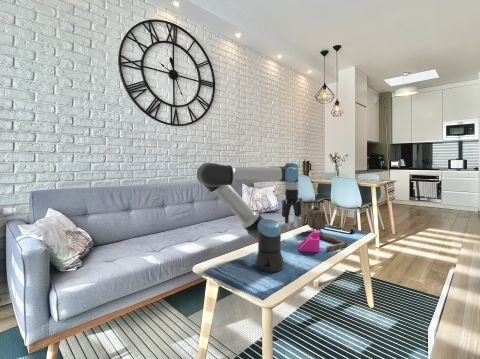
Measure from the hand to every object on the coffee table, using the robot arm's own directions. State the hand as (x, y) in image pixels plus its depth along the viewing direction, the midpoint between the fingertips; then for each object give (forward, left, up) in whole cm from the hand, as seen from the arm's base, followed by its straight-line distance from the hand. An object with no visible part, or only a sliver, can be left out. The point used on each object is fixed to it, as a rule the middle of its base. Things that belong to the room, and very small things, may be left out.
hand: (291, 227), depth 149 cm
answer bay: (+27, 0, -15) cm, 31 cm away
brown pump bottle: (+40, +21, -15) cm, 48 cm away
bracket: (+13, -1, -15) cm, 20 cm away
